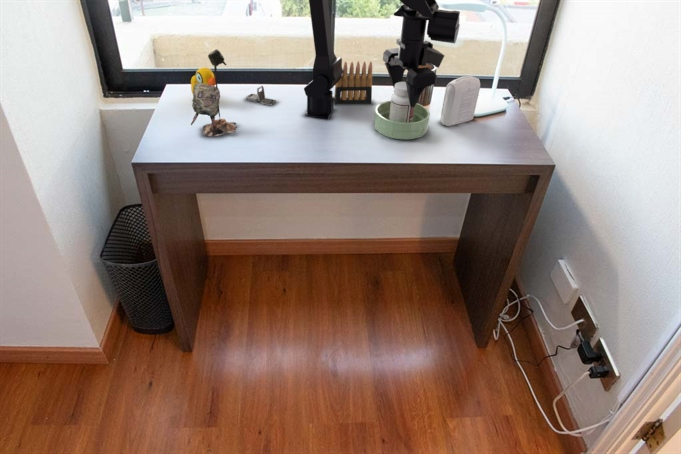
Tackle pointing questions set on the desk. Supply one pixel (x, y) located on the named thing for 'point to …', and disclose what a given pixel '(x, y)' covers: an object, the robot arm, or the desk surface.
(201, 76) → the duckling
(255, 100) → the strap clip
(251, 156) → the desk surface
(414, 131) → the bowl
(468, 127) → the desk surface
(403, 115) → the pill bottle
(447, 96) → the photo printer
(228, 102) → the desk surface
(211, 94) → the rough stone-bodied figurine
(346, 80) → the ammunition clip
